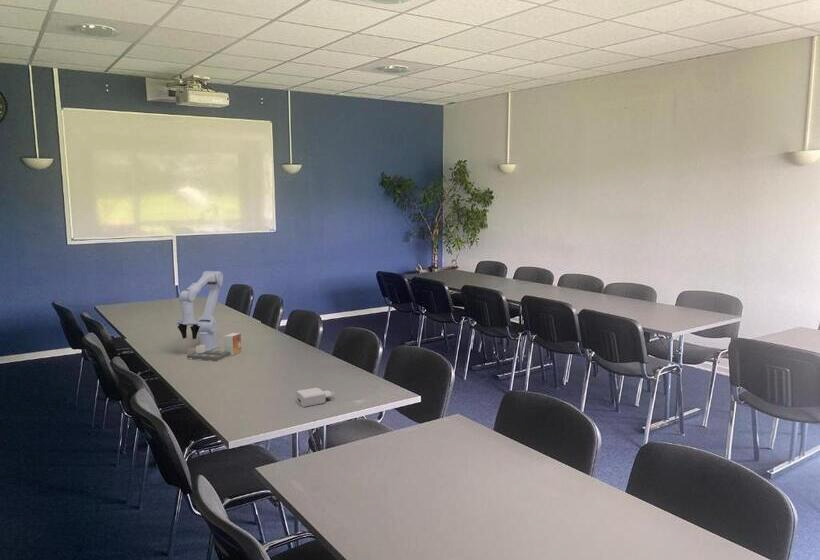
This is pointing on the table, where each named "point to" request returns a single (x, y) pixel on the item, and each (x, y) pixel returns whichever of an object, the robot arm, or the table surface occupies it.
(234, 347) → the small box
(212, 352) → the panel
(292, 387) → the table surface
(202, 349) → the fader
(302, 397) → the charger
